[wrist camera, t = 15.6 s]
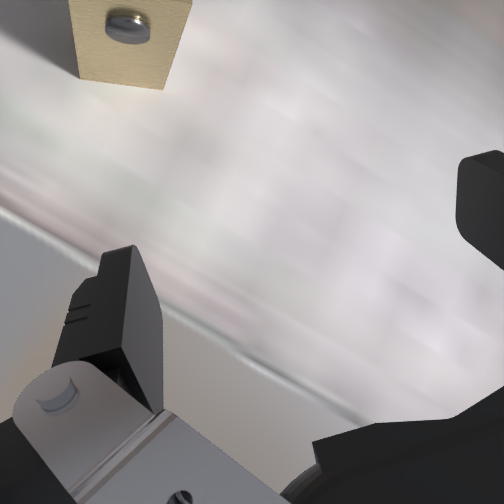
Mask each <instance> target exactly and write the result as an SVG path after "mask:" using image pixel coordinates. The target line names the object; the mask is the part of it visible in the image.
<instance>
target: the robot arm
mask: <svg viewBox="0 0 504 504" xmlns="http://www.w3.org/2000/svg"><path fill="white" fill-rule="evenodd" d="M456 224H457V227H458V230H459V232H460V234H461V236H462V237H463V238H464V239H465V240H466V241H467V242H468V243H470V244H471V245H472V246H473V247H475V248H476V249H477V250H478V251H480V252H481V253H482V254H483V255H485V256H486V257H487V258H488V259H490V260H491V261H492V262H494V263H495V264H496V265H497V266H499V267H500V268H501V269H502V270H504V153H503V152H501V151H498V150H493V151H489V152H485V153H481V154H478V155H474V156H470V157H466V158H464V159H462V160H461V162H460V164H459V167H458V177H457V196H456ZM68 310H69V313H67V316H66V319H65V326H63V329H62V333H61V336H60V340H59V343H58V346H57V350H56V353H55V357H54V360H53V363H52V367H51V369H49V370H47V371H45V372H44V373H42V374H40V375H39V376H38V377H36V378H35V379H34V380H33V381H31V382H30V383H29V384H28V385H27V386H26V387H25V389H24V390H23V391H22V392H21V394H20V395H19V397H18V398H17V400H16V402H15V404H14V407H13V414H12V417H11V418H9V419H7V420H6V421H4V422H2V423H0V504H504V386H503V387H502V388H500V389H498V390H497V391H495V392H494V393H492V394H490V395H489V396H487V397H486V398H484V399H483V400H481V401H479V402H478V403H476V404H475V405H473V406H471V407H470V408H468V409H467V410H465V411H463V412H462V413H460V414H459V415H457V416H455V417H453V418H449V419H442V420H424V421H406V422H388V423H375V424H371V425H368V426H365V427H361V428H358V429H354V430H351V431H348V432H344V433H341V434H337V435H334V436H331V437H327V438H324V439H320V440H317V441H314V442H312V445H313V449H314V454H315V459H316V464H315V465H313V466H312V467H310V468H309V469H307V470H306V471H304V472H303V473H302V474H300V475H299V476H298V477H297V478H296V479H294V480H293V481H292V482H291V483H290V484H289V485H288V486H287V487H286V488H285V489H284V490H283V491H282V492H281V493H280V494H278V493H276V492H275V491H274V490H272V489H271V488H270V487H268V486H267V485H266V484H265V483H263V482H262V481H261V480H260V479H258V478H257V477H256V476H254V475H253V474H252V473H250V472H249V471H248V470H247V469H245V468H244V467H243V466H241V465H240V464H239V463H238V462H236V461H235V460H234V459H232V458H231V457H230V456H228V455H227V454H226V453H225V452H223V451H222V450H221V449H219V448H218V447H217V446H215V445H214V444H213V443H212V442H210V441H209V440H208V439H206V438H205V437H204V436H202V435H201V434H200V433H199V432H197V431H196V430H195V429H193V428H192V427H191V426H190V425H188V424H187V423H186V422H185V421H183V420H182V419H180V418H179V417H178V416H177V415H175V414H174V413H172V412H171V411H169V410H166V409H163V320H162V313H161V308H160V304H159V301H158V298H157V295H156V293H155V290H154V288H153V285H152V282H151V280H150V277H149V275H148V272H147V270H146V267H145V265H144V262H143V260H142V257H141V255H140V252H139V250H138V248H137V247H136V246H135V245H131V246H127V247H123V248H120V249H116V250H112V251H108V252H105V253H103V254H102V256H101V261H100V265H99V270H98V274H97V276H95V277H91V278H88V279H85V280H84V282H83V283H82V284H81V285H80V286H79V288H78V289H77V290H76V291H75V292H74V294H73V295H72V299H71V302H70V306H69V309H68Z"/></svg>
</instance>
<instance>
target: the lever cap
mask: <svg viewBox="0 0 504 504" xmlns="http://www.w3.org/2000/svg"><path fill="white" fill-rule="evenodd" d="M68 3H69V9H70V16H71V22H72V29H73V35H74V42H75V49H76V55H77V62H78V68H79V75H80V79H83V80H90V81H98V82H105V83H113V84H120V85H128V86H135V87H143V88H150V89H158V90H163V89H164V86H165V83H166V80H167V77H168V74H169V71H170V68H171V65H172V62H173V59H174V57H175V54H176V51H177V48H178V45H179V42H180V39H181V36H182V33H183V30H184V27H185V24H186V21H187V18H188V15H189V12H190V9H191V6H192V0H68Z"/></svg>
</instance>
